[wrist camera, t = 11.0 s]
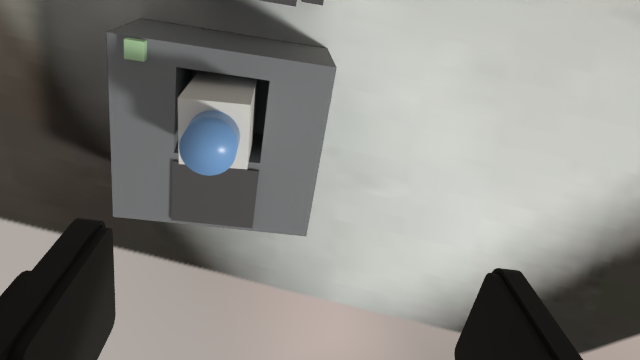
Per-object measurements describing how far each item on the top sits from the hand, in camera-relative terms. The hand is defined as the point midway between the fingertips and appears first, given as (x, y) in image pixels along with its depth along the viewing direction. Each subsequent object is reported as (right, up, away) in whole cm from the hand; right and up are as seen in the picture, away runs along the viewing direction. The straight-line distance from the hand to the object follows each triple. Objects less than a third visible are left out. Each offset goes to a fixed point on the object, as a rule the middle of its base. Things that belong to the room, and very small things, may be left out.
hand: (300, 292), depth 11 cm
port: (-6, +7, +20) cm, 22 cm away
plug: (-5, +9, +19) cm, 21 cm away
